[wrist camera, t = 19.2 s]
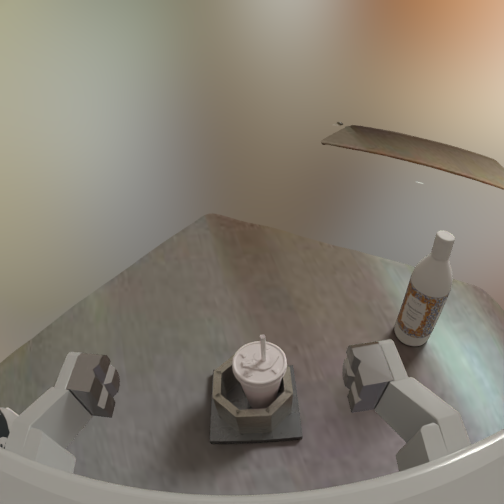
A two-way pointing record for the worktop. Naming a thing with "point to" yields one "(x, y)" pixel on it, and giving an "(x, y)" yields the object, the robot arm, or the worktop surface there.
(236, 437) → the octagonal cup holder
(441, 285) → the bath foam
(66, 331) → the worktop surface
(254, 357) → the smoothie
